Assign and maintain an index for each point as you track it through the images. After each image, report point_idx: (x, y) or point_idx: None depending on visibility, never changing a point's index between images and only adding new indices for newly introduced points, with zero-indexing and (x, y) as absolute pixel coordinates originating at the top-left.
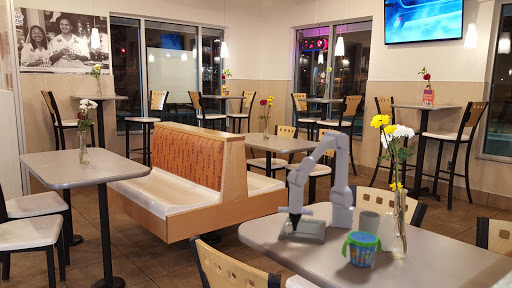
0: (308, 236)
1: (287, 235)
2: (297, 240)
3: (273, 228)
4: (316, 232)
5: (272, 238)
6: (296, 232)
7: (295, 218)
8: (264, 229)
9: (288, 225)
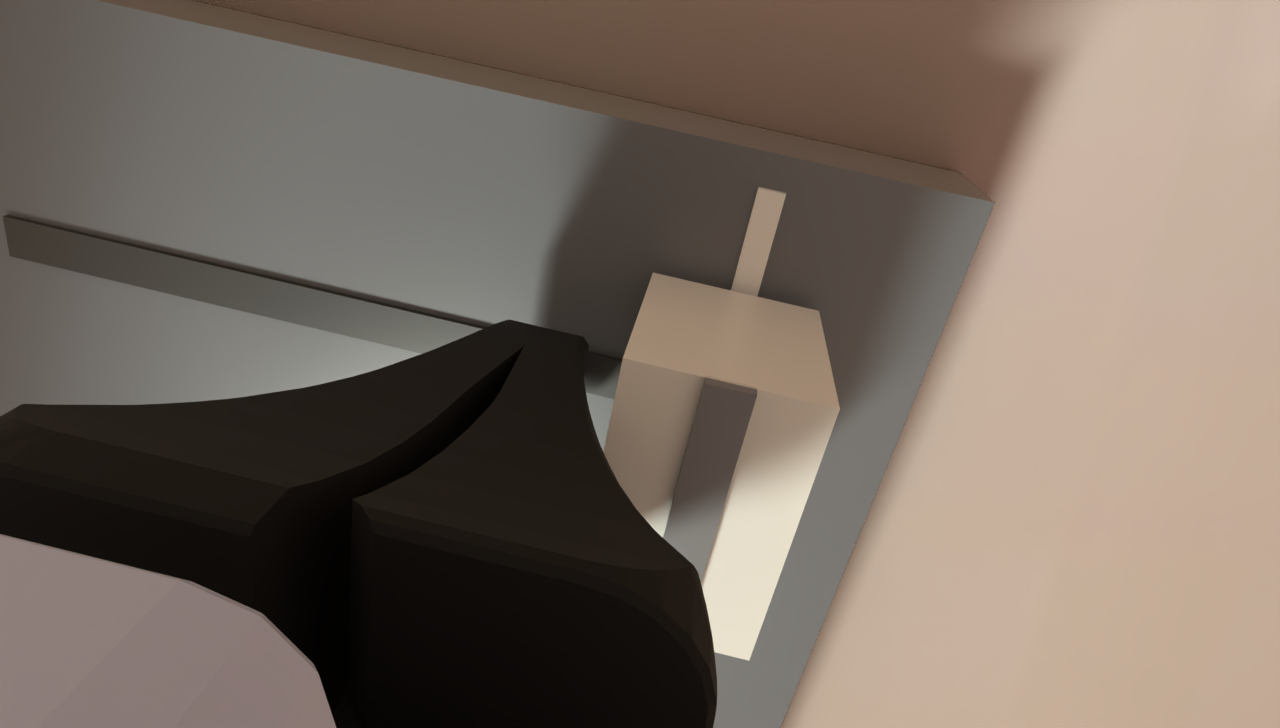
0: (188, 110)
1: (765, 148)
2: (507, 71)
3: (988, 676)
4: (52, 358)
5: (1148, 195)
6: None
7: (310, 464)
8: (1206, 643)
9: (722, 390)
